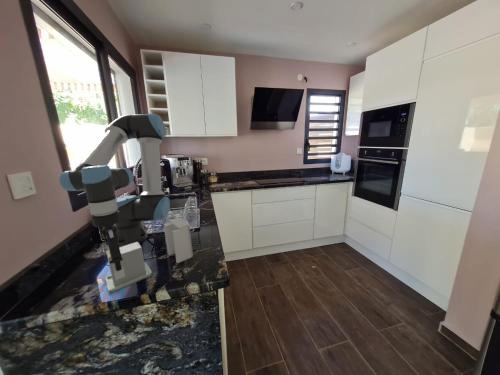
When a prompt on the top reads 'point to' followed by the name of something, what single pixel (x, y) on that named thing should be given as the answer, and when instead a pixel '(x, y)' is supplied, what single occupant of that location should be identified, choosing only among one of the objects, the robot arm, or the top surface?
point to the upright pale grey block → (129, 263)
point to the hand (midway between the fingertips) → (117, 268)
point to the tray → (112, 288)
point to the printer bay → (178, 239)
